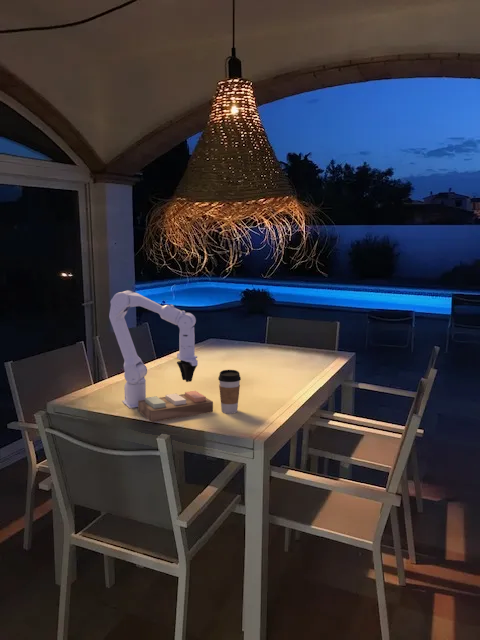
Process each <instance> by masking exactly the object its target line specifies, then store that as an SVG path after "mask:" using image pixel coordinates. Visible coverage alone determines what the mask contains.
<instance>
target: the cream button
mask: <svg viewBox="0 0 480 640" xmlns="http://www.w3.org/2000/svg"><path fill="white" fill-rule="evenodd" d="M180 395H181V394H178V393H170V394H165V395H164V397H166V400H167V401H169V402H170V403H171V404H173V405H174V406H175V405H182V404H186V399H184V398H183V397H181V396H180Z"/></svg>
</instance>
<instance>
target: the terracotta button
mask: <svg viewBox="0 0 480 640" xmlns="http://www.w3.org/2000/svg"><path fill="white" fill-rule="evenodd" d="M184 394H185V397H187V398H188V399H190V400H191V401H193V402H201V401H206V398H207V397H206V396H205V395H204V394H202V393H200V392H199V391H197V390H192V391H191V390H190V391H185V392H184Z"/></svg>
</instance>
